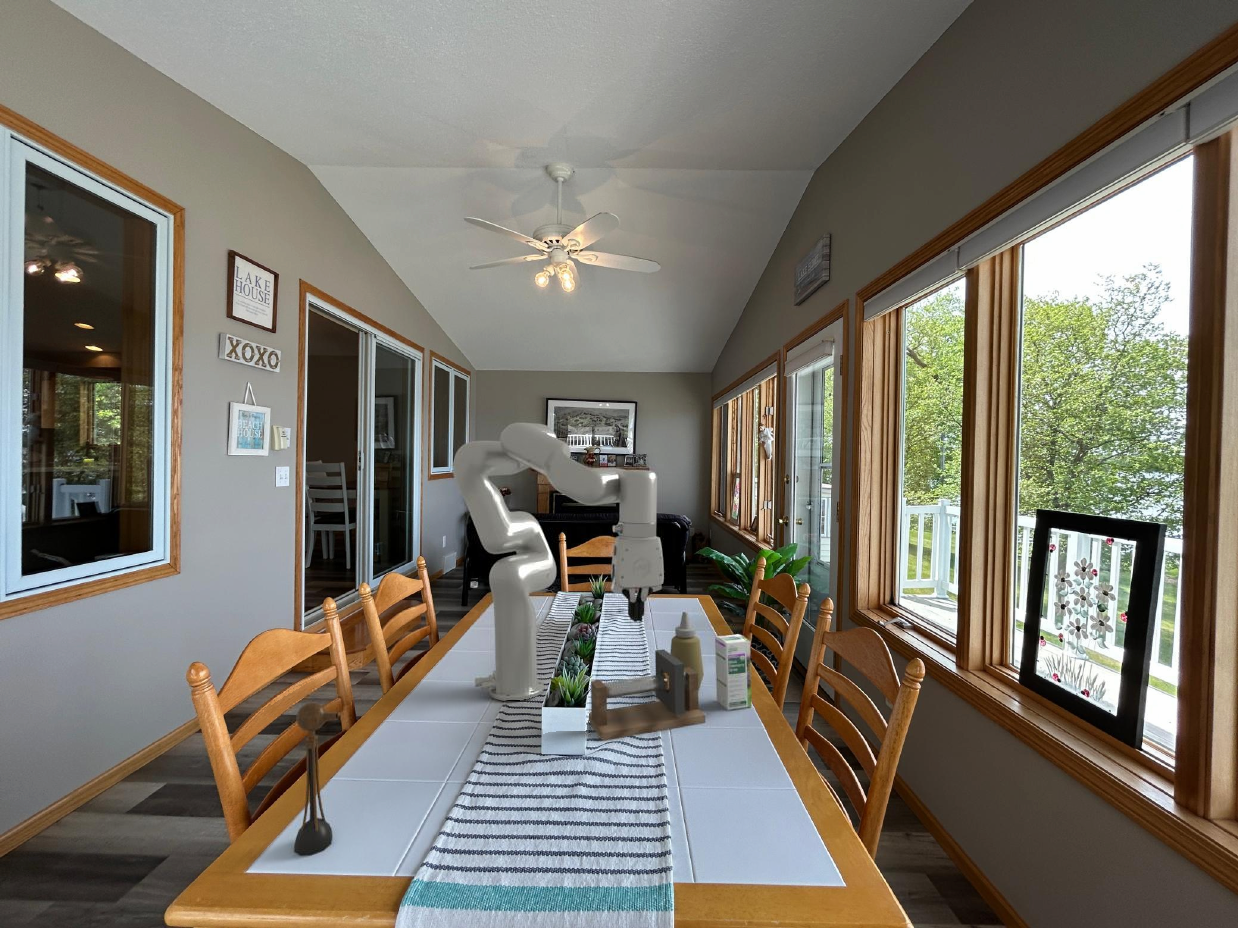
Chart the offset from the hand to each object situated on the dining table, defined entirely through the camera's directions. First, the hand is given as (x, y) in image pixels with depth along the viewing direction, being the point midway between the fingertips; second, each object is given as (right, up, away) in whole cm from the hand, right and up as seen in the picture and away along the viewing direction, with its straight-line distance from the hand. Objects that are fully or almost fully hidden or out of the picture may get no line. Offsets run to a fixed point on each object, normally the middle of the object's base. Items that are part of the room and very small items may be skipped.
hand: (635, 619), depth 122 cm
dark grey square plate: (+7, -18, +2) cm, 20 cm away
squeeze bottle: (+12, -21, +16) cm, 29 cm away
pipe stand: (+2, -21, 0) cm, 21 cm away
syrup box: (+22, -21, +8) cm, 31 cm away
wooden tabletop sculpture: (-46, -22, -38) cm, 64 cm away
